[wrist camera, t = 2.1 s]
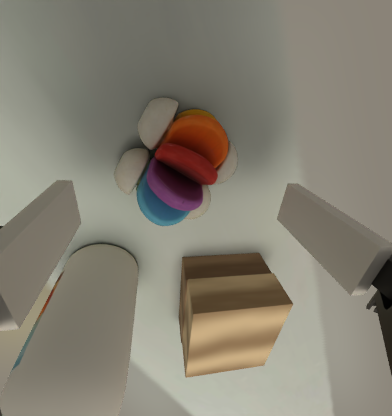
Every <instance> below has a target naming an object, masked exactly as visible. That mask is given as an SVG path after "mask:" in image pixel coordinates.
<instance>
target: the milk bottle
mask: <svg viewBox="0 0 392 416" xmlns="http://www.w3.org/2000/svg"><path fill="white" fill-rule="evenodd" d="M137 283H138V266H137V263H136V261H135V259H134V258H133V257H132V256H131V254H129V253H128V252H127V251H125V250H123V249H122V248H120V247H116V246H114V245H108V244H96V245H90V246H87V247H84V248H82V249H80V250H78V251H77V252H75V253H74V254H73V255H72V256H71V257H70V258H69V259H68V261H67V263H66V265H65V266H64V268H63V270H62V272H61V274H60V276H59V278H58V280H57V282H56V284H55V285H54V287H53V289H52V291H51V293H50V295H49V297H48V299H47V301H46V303H45V305H44V307H43V309H42V311H41V313H40V315H39V317H38V319H37V321H36V322H35V324H34V326H33V328H32V330H31V332H30V334H29V336H28V338H27V340H26V342H25V344H24V346H23V348H22V350H21V352H20V354H19V356H18V358H17V360H16V362H15V365H14V367H13V369H12V371H11V373H10V375H9V377H8V380H7V382H6V384H5V386H4V388H3V391H2V394H1V396H0V409H1V413H2V416H118V415H119V412H120V409H121V405H122V402H123V397H124V392H125V388H126V382H127V374H128V367H129V360H130V351H131V342H132V333H133V324H134V314H135V304H136V294H137Z"/></svg>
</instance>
